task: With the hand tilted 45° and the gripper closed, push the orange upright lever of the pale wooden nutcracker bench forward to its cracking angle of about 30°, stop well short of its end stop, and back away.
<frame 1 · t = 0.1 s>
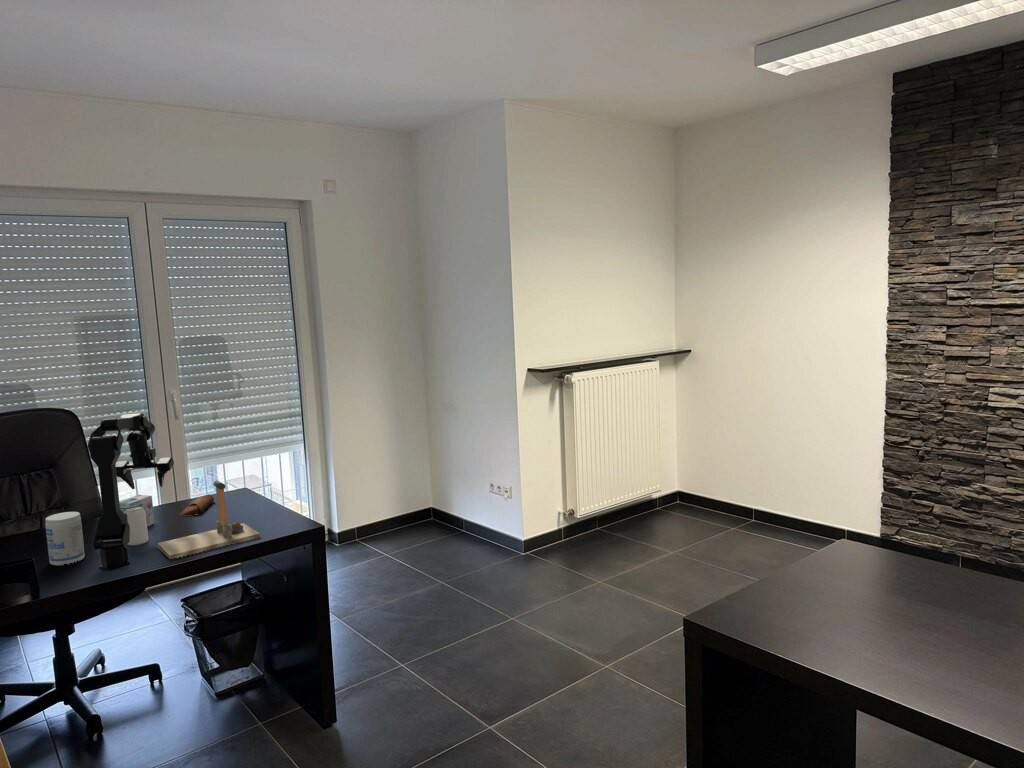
hand: (147, 487, 251), 15 cm above the table, tool pointing down, fingers open, 9 cm apart
brown bread roll: (197, 511, 277), on the table
can: (138, 543, 240), on the table
nutcracker bench: (209, 542, 237), on the table
lever: (221, 503, 238), point 12 cm above the table, hinge at 0.0°
supplement tub: (68, 561, 226), on the table
light bulb box: (136, 528, 257), on the table
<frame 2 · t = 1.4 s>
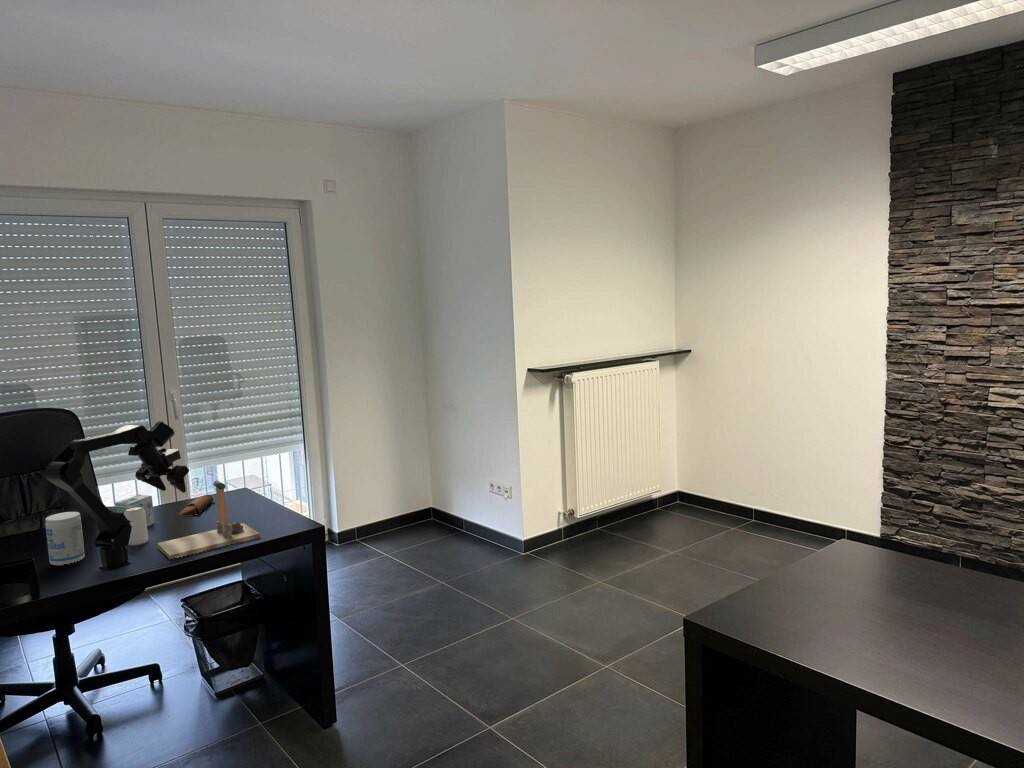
hand: (174, 490, 240), 17 cm above the table, tool tilted 30°, fingers open, 9 cm apart
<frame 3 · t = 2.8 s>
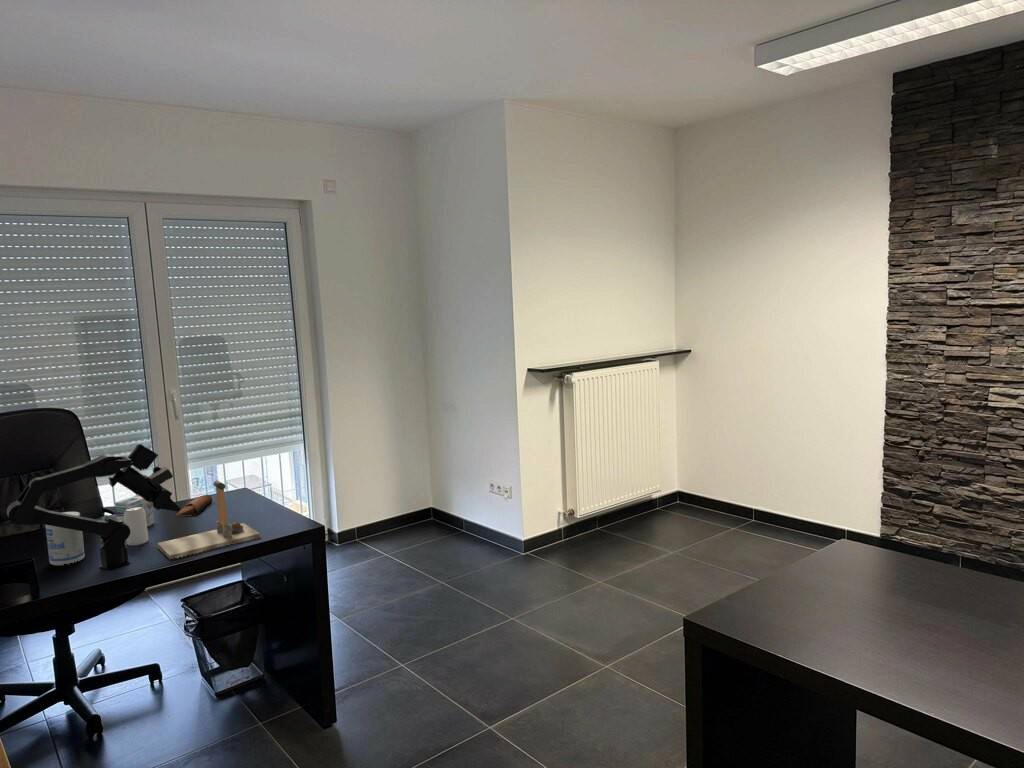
hand: (177, 508, 230), 14 cm above the table, tool tilted 45°, fingers open, 5 cm apart
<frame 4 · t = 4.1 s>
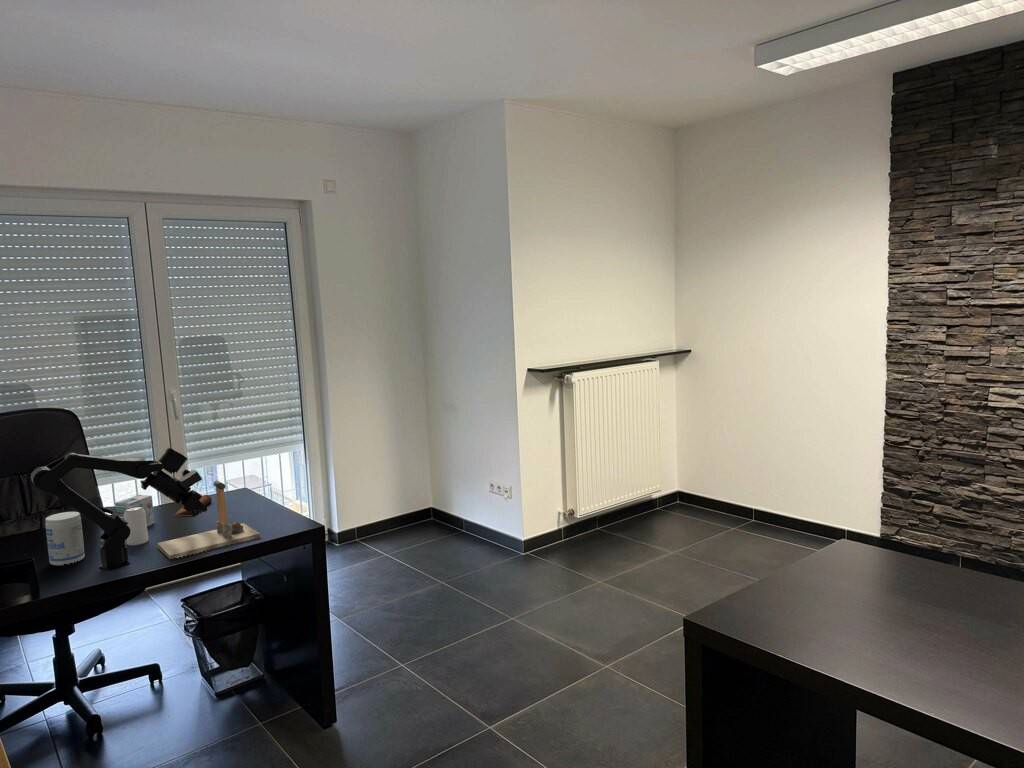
hand: (206, 510, 235), 11 cm above the table, tool tilted 45°, fingers closed
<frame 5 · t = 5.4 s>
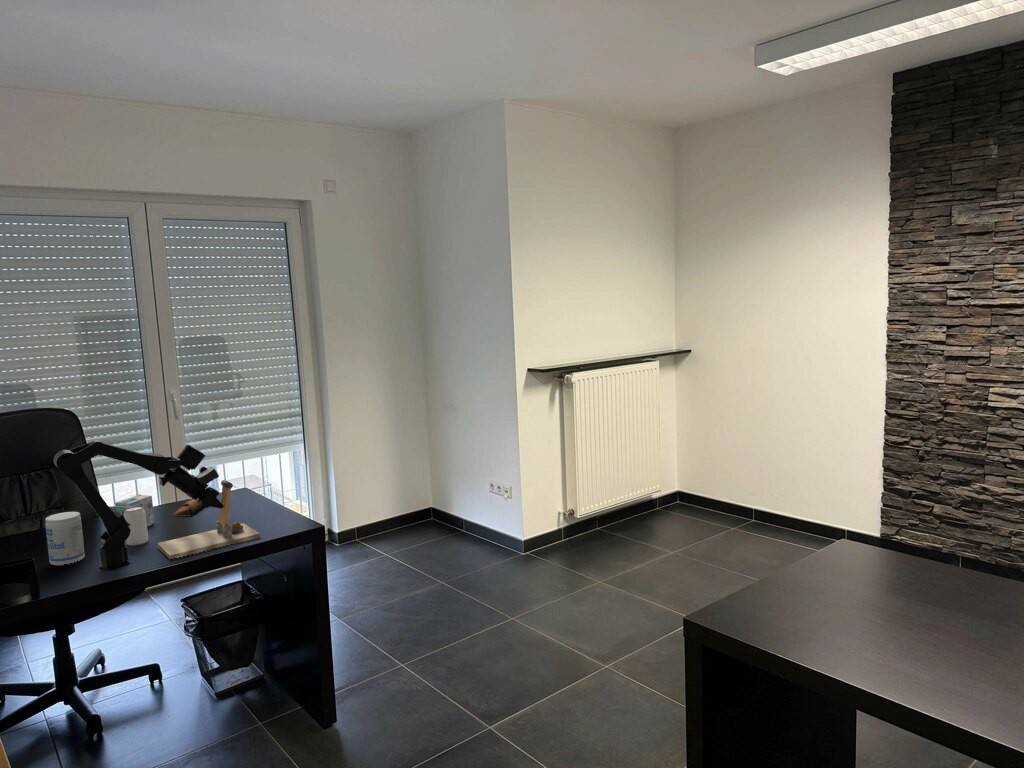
hand: (222, 507, 239), 11 cm above the table, tool tilted 45°, fingers closed, pressing on lever
lever: (225, 502, 239), point 12 cm above the table, hinge at 10.1°, touching gripper
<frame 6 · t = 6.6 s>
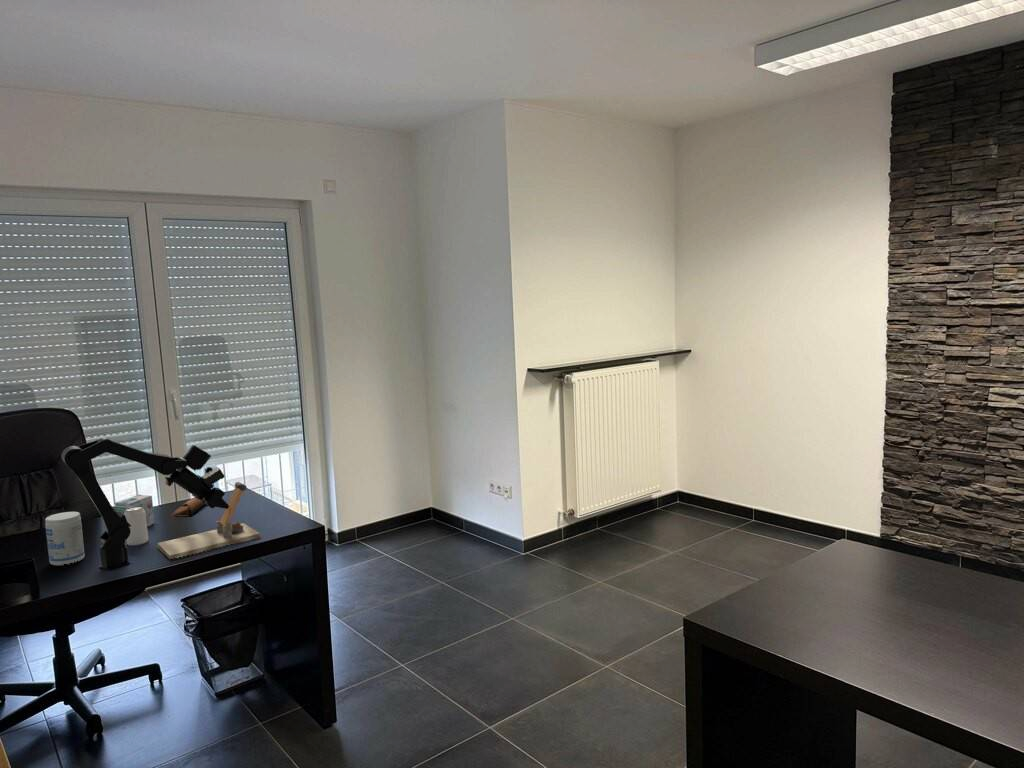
hand: (228, 507, 240), 10 cm above the table, tool tilted 45°, fingers closed
lever: (232, 503, 241), point 11 cm above the table, hinge at 30.0°
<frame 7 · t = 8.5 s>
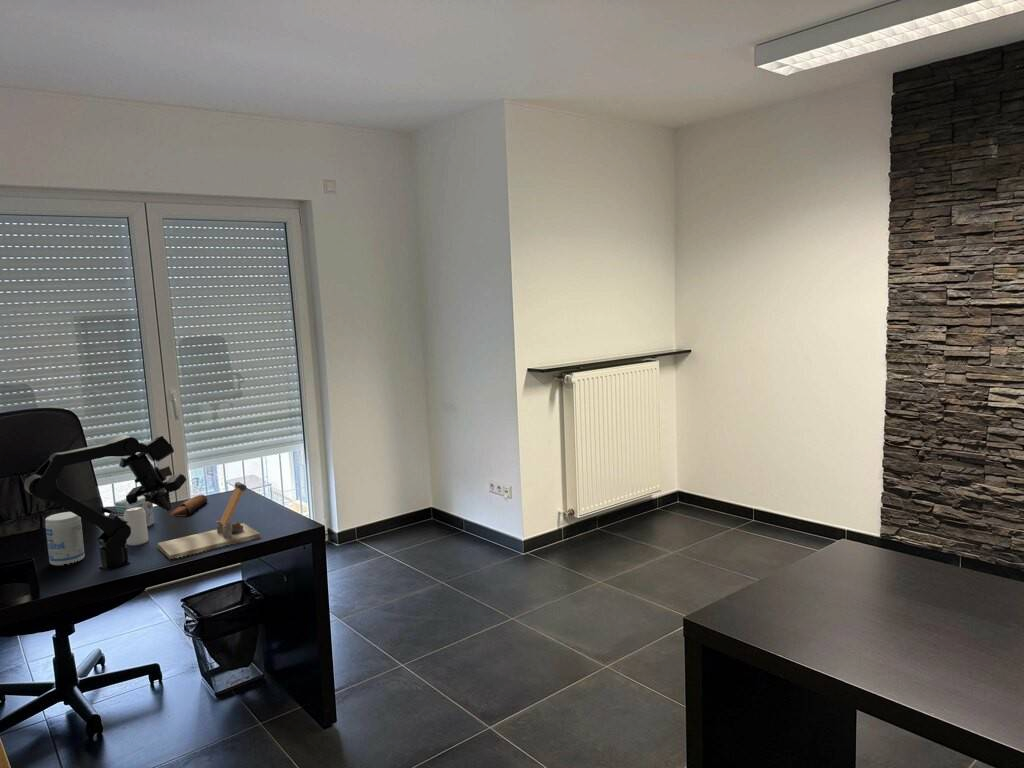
hand: (169, 509, 230), 13 cm above the table, tool tilted 25°, fingers closed
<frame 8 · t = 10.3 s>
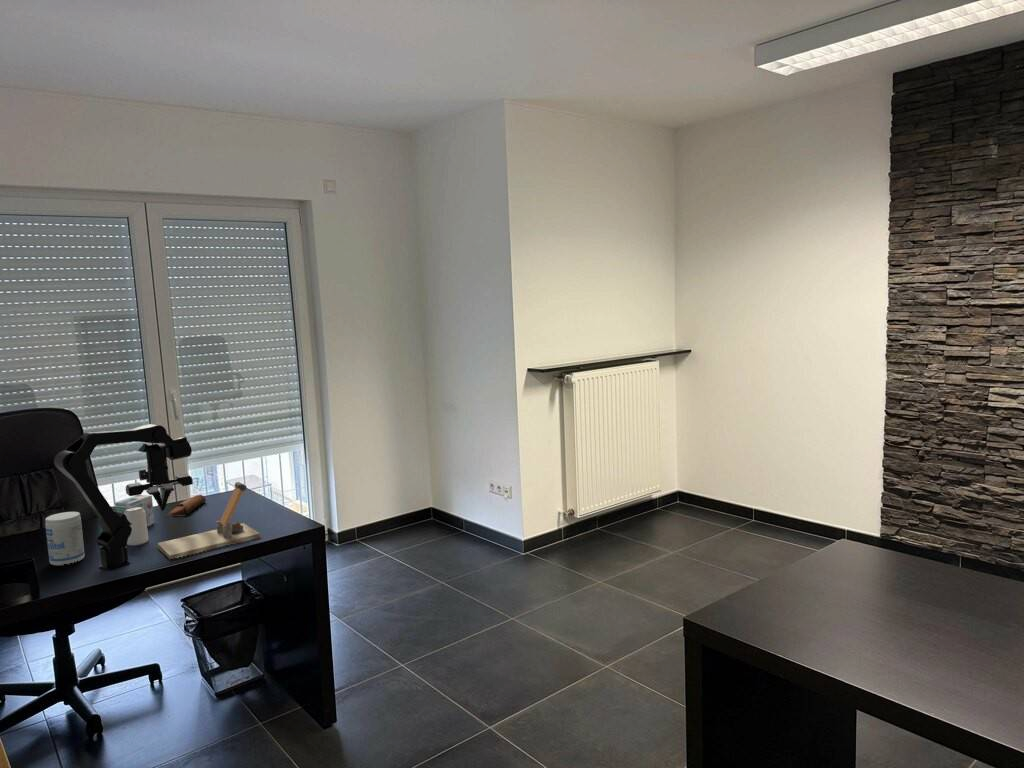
hand: (162, 510, 230), 13 cm above the table, tool pointing down, fingers closed
at the end: lever at +30° (first picture: +0°); the gripper is holding nothing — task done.
